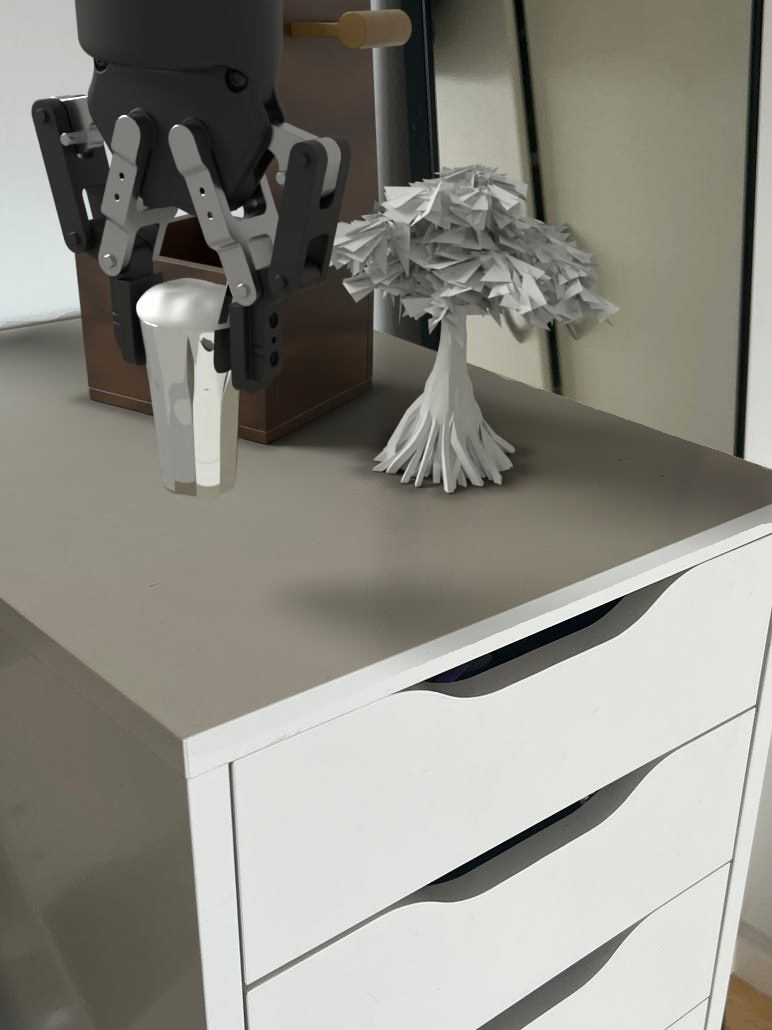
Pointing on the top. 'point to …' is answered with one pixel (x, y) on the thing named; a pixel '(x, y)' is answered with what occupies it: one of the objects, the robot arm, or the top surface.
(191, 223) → the chest
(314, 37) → the lid
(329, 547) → the top surface
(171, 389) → the milkshake
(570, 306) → the tree
